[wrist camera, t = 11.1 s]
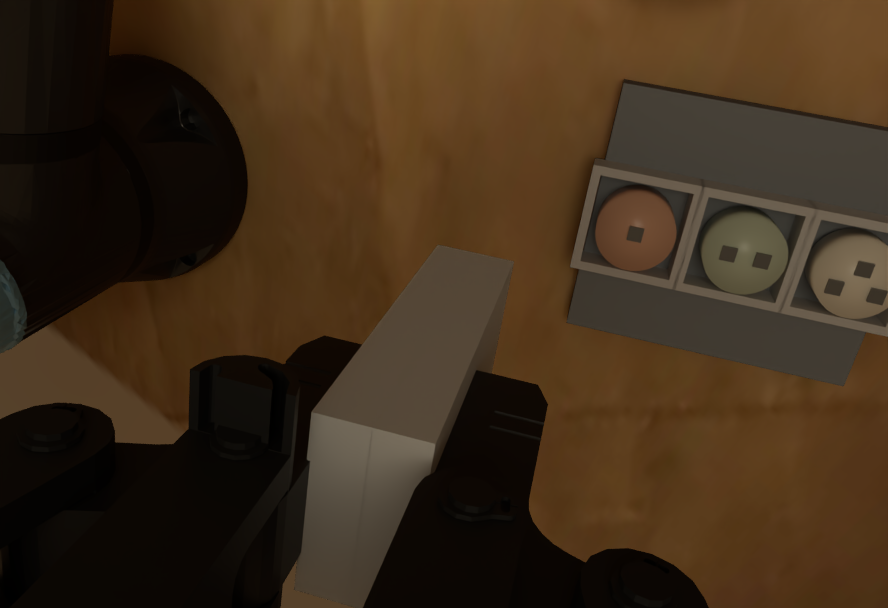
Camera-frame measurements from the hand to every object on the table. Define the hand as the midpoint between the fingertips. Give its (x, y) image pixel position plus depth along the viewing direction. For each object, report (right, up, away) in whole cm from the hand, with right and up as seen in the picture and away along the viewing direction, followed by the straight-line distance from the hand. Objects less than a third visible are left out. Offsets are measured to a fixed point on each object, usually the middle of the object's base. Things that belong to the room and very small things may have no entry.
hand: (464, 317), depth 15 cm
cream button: (+22, +2, +29) cm, 37 cm away
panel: (+17, +5, +32) cm, 37 cm away
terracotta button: (+11, +5, +31) cm, 33 cm away
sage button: (+17, +4, +30) cm, 34 cm away
